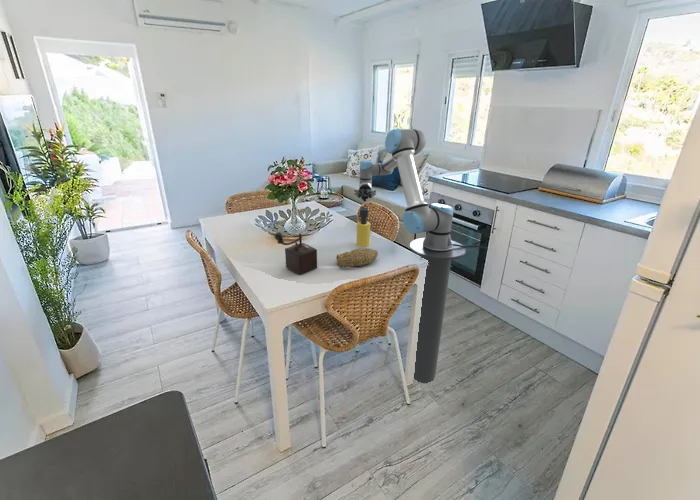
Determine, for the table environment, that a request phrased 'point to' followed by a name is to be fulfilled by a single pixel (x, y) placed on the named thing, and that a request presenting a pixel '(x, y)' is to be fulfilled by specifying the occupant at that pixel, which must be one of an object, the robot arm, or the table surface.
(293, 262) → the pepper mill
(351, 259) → the sponge
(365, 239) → the spray bottle
